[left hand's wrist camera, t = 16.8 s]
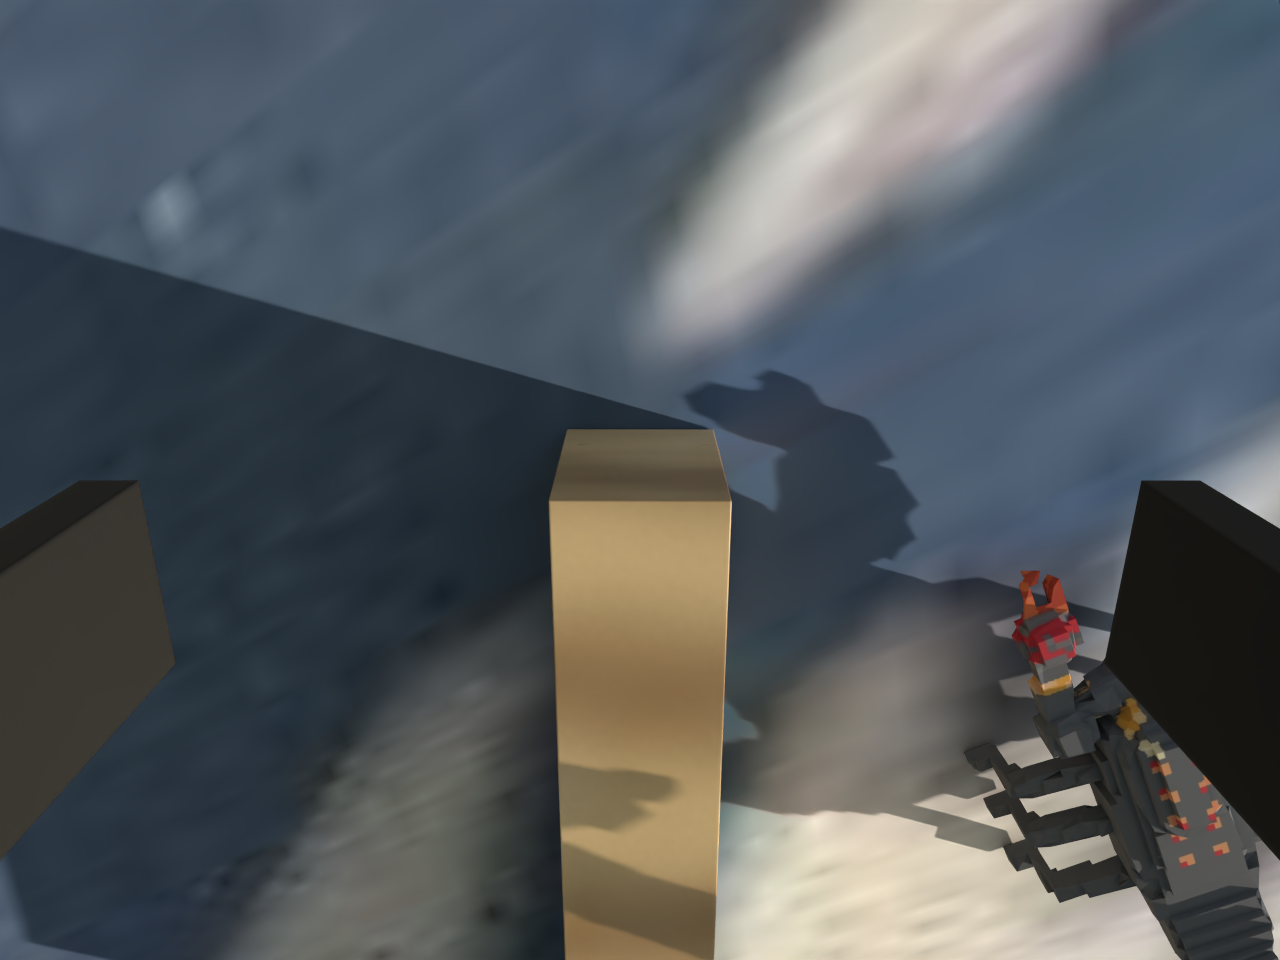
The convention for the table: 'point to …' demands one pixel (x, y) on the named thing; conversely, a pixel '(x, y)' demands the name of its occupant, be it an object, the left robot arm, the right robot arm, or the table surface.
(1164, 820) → the toy
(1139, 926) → the table surface
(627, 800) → the ash beam
